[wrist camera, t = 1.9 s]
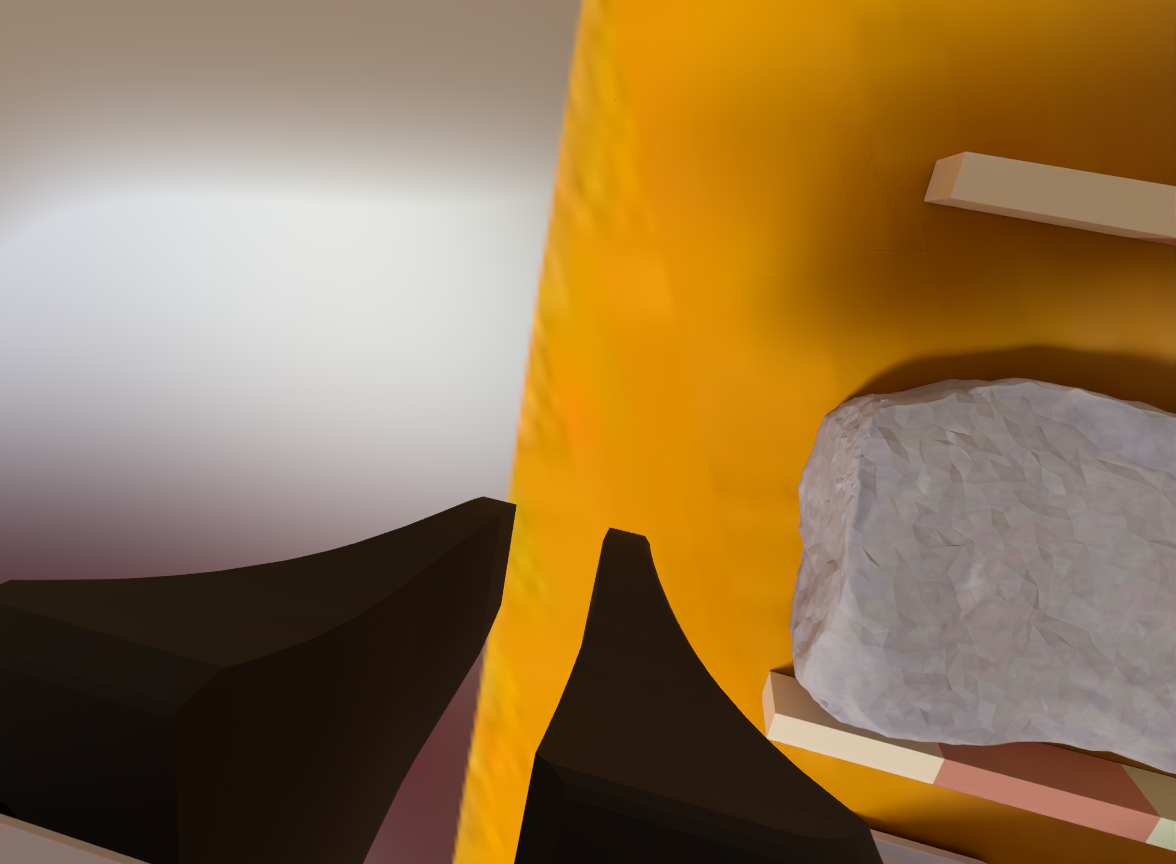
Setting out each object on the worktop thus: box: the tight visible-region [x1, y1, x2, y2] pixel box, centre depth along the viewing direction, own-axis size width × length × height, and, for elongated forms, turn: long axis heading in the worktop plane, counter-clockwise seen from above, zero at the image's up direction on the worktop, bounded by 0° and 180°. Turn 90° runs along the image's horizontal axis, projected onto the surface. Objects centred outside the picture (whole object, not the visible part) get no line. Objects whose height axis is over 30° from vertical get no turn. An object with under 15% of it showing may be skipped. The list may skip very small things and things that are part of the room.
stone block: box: [790, 378, 1176, 774], centre depth 18 cm, size 12×5×10 cm
